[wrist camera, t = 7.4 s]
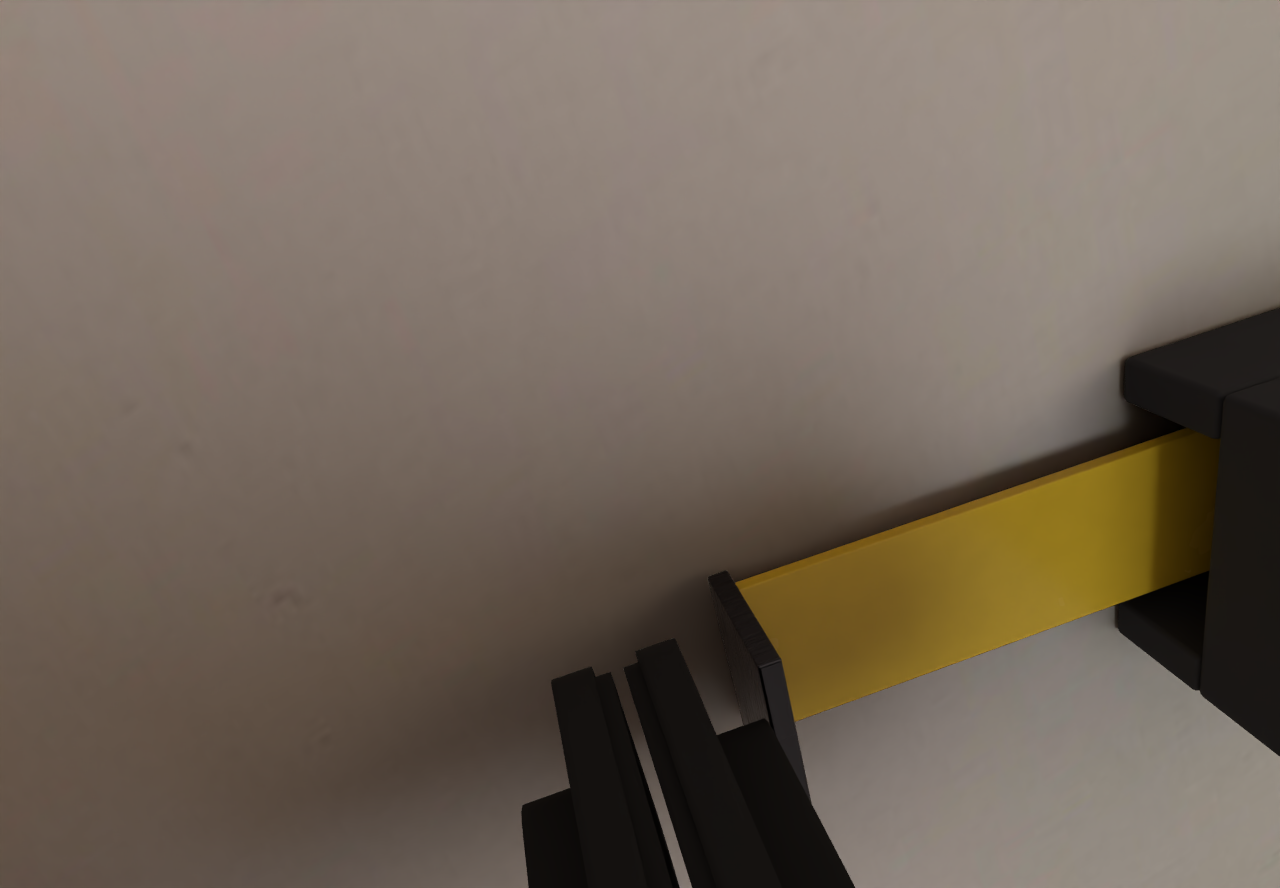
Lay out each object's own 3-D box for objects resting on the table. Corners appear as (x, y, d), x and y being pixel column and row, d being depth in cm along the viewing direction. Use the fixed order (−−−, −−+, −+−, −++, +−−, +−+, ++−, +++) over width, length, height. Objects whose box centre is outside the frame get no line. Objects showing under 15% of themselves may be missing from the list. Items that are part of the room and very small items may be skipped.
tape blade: (743, 724, 12) (794, 831, 10) (705, 575, 11) (758, 667, 9) (1293, 524, 13) (1427, 590, 11) (1314, 368, 12) (1468, 414, 10)
